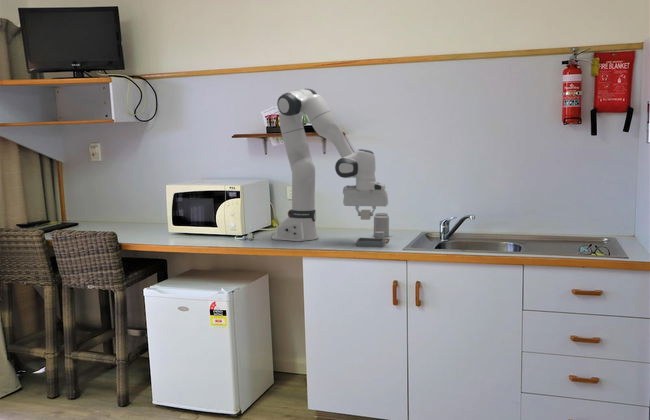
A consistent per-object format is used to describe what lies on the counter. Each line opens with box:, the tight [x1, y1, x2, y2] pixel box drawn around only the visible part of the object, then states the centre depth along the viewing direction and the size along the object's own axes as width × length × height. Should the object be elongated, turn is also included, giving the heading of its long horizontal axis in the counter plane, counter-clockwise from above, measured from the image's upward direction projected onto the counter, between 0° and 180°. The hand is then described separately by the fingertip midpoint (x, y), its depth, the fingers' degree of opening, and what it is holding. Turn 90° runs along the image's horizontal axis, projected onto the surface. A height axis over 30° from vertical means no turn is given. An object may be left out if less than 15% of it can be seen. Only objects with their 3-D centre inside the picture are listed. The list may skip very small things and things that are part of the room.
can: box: [373, 212, 390, 238], centre depth 308 cm, size 8×8×12 cm
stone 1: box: [360, 209, 372, 221], centre depth 282 cm, size 4×4×4 cm
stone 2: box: [374, 231, 385, 239], centre depth 296 cm, size 4×4×4 cm
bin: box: [355, 237, 386, 249], centre depth 283 cm, size 12×9×3 cm
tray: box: [384, 237, 390, 245], centre depth 295 cm, size 14×11×1 cm
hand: (365, 216), depth 282 cm, fingers closed on stone 1, 4 cm apart
